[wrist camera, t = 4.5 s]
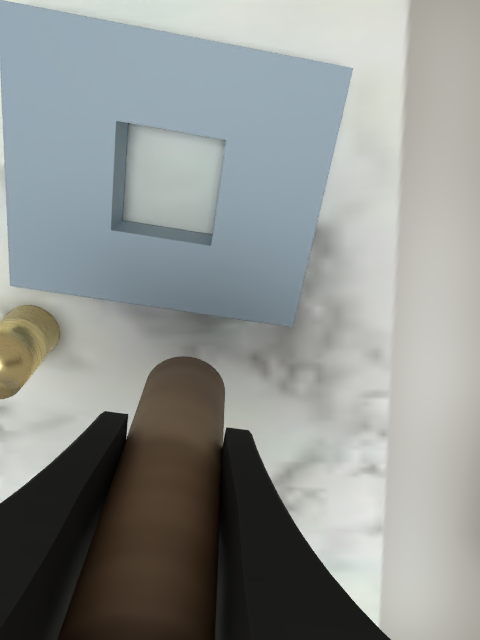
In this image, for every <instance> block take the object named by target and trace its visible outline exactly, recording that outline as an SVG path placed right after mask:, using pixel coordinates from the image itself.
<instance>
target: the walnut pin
mask: <svg viewBox="0 0 480 640" xmlns="http://www.w3.org/2000/svg"><path fill="white" fill-rule="evenodd" d="M224 402H225V387H224V383H223V380H222V378H221V376H220V375H219V373H218V372H217V371H216V370H215V369H214V368H213V367H212V366H211V365H209V364H208V363H206V362H204V361H202V360H200V359H197V358H193V357H174V358H170V359H167V360H165V361H163V362H161V363H160V364H158V365H157V366H156V367H155V368H154V369H153V370H152V371H151V373H150V374H149V376H148V378H147V381H146V384H145V387H144V390H143V393H142V396H141V399H140V401H139V404H138V407H137V410H136V413H135V416H134V419H133V422H132V425H131V427H130V430H129V433H128V436H127V439H126V442H125V445H124V448H123V451H122V454H121V456H120V459H119V462H118V465H117V468H116V471H115V474H114V477H113V480H112V483H111V485H110V488H109V491H108V494H107V497H106V500H105V503H104V506H103V509H102V511H101V514H100V517H99V520H98V523H97V526H96V529H95V532H94V535H93V538H92V540H91V543H90V546H89V549H88V552H87V555H86V558H85V561H84V564H83V567H82V569H81V572H80V575H79V578H78V581H77V584H76V587H75V590H74V593H73V595H72V598H71V601H70V604H69V607H68V610H67V613H66V616H65V619H64V622H63V624H62V627H61V630H60V633H59V636H58V639H57V640H215V628H216V603H217V578H218V553H219V528H220V503H221V465H222V447H223V427H224Z"/></svg>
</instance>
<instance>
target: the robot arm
mask: <svg viewBox="0 0 480 640" xmlns="http://www.w3.org/2000/svg"><path fill="white" fill-rule="evenodd" d="M127 422H128V414H122V413H114V412H107V411H105V412H103V413H102V414H100V415H99V416H98V417H97V418H96V420H95V421H94V422H93V423H92V424H91V425H90V426H89V427H88V428H87V429H86V430H85V431H84V432H83V433H82V434H81V435H80V436H79V437H78V438H77V439H76V440H75V441H74V442H73V443H72V444H71V445H70V446H69V447H68V448H67V449H66V450H65V451H63V452H62V453H61V454H60V455H59V456H58V457H57V458H56V459H55V460H54V461H53V462H51V463H50V464H49V465H48V466H47V467H46V468H44V469H43V470H42V471H41V472H40V473H38V474H37V475H36V476H35V477H34V478H32V479H31V480H30V481H29V482H28V483H26V484H25V485H24V486H23V487H21V488H20V489H19V490H18V491H16V492H15V493H14V494H12V495H11V496H10V497H8V498H7V499H6V500H4V501H3V502H2V503H0V640H57V639H58V636H59V633H60V630H61V627H62V624H63V622H64V619H65V616H66V613H67V610H68V607H69V604H70V601H71V598H72V595H73V593H74V590H75V587H76V584H77V581H78V578H79V575H80V572H81V569H82V567H83V564H84V561H85V558H86V555H87V552H88V549H89V546H90V543H91V540H92V538H93V535H94V532H95V529H96V526H97V523H98V520H99V517H100V514H101V511H102V509H103V506H104V503H105V500H106V497H107V494H108V491H109V488H110V485H111V483H112V480H113V477H114V474H115V471H116V468H117V465H118V462H119V459H120V456H121V454H122V451H123V448H124V445H125V442H126V434H127ZM215 640H391V639H390V638H388V637H387V636H386V635H385V634H384V633H383V632H382V631H381V630H380V629H379V628H378V627H377V626H376V625H375V624H374V623H373V621H372V620H371V619H370V618H369V617H368V616H367V615H366V614H365V613H364V612H363V611H362V610H361V609H360V608H359V607H358V606H357V605H356V603H355V602H354V601H353V600H352V599H351V597H350V596H349V595H348V594H347V593H346V592H345V590H344V589H343V588H342V587H341V586H340V584H339V583H338V582H337V581H336V580H335V579H334V577H333V576H332V575H331V574H330V573H329V571H328V570H327V569H326V567H325V566H324V565H323V563H322V562H321V561H320V559H319V558H318V557H317V555H316V554H315V553H314V551H313V550H312V548H311V547H310V545H309V544H308V543H307V541H306V540H305V538H304V537H303V535H302V534H301V532H300V531H299V529H298V527H297V526H296V524H295V523H294V521H293V519H292V518H291V516H290V514H289V513H288V511H287V509H286V508H285V506H284V504H283V502H282V500H281V499H280V497H279V495H278V493H277V491H276V489H275V487H274V485H273V483H272V481H271V479H270V477H269V475H268V473H267V471H266V469H265V467H264V464H263V462H262V460H261V457H260V455H259V453H258V450H257V448H256V445H255V442H254V439H253V436H252V434H251V433H250V431H249V430H242V429H234V428H227V427H226V432H225V437H224V442H223V447H222V465H221V503H220V528H219V553H218V578H217V603H216V628H215Z"/></svg>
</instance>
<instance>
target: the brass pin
mask: <svg viewBox="0 0 480 640" xmlns="http://www.w3.org/2000/svg"><path fill="white" fill-rule="evenodd" d="M59 336H60V331H59V327H58V324H57V322H56V320H55V319H54V318H53V317H52V315H50V314H49V313H48V312H47V311H45V310H44V309H42V308H39V307H37V306H32V305H23V306H19V307H16V308H14V309H13V310H11V311H10V312H9V313H8V314H7V315H5V316H4V317H3V318H2V319H1V320H0V399H5V398H9V397H11V396H13V395H14V394H16V393H17V392H18V391H19V390H20V389H21V387H22V386H23V385H24V384H25V383H26V381H27V380H28V379H29V378H30V376H31V375H32V374H33V373H34V372H35V370H36V369H37V368H38V367H39V365H40V364H41V363H42V362H43V361H44V359H45V358H46V357H47V356H48V354H49V353H50V352H51V351H52V350H53V348H54V347H55V346H56V344H57V343H58V341H59Z"/></svg>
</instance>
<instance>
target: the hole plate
mask: <svg viewBox="0 0 480 640" xmlns="http://www.w3.org/2000/svg"><path fill="white" fill-rule="evenodd" d="M0 71H1V93H2V115H3V138H4V160H5V182H6V204H7V226H8V248H9V271H10V286H13V287H20V288H27V289H34V290H41V291H48V292H55V293H61V294H68V295H75V296H82V297H89V298H96V299H102V300H109V301H116V302H123V303H130V304H137V305H144V306H150V307H157V308H164V309H171V310H178V311H185V312H191V313H198V314H205V315H212V316H219V317H226V318H233V319H239V320H246V321H253V322H260V323H267V324H274V325H280V326H287V327H293V324H294V320H295V315H296V311H297V307H298V302H299V298H300V294H301V290H302V285H303V281H304V277H305V272H306V268H307V264H308V259H309V255H310V251H311V247H312V242H313V238H314V234H315V229H316V225H317V221H318V217H319V212H320V208H321V204H322V199H323V195H324V191H325V187H326V182H327V178H328V174H329V169H330V165H331V161H332V156H333V152H334V148H335V144H336V139H337V135H338V131H339V126H340V122H341V118H342V114H343V109H344V105H345V101H346V96H347V92H348V88H349V84H350V79H351V75H352V71H353V68H349V67H344V66H339V65H334V64H329V63H323V62H318V61H313V60H308V59H303V58H298V57H292V56H287V55H282V54H277V53H272V52H267V51H261V50H256V49H251V48H246V47H241V46H236V45H230V44H225V43H220V42H215V41H210V40H205V39H199V38H194V37H189V36H184V35H179V34H174V33H168V32H163V31H158V30H153V29H148V28H143V27H138V26H132V25H127V24H122V23H117V22H112V21H107V20H101V19H96V18H91V17H86V16H81V15H76V14H70V13H65V12H60V11H55V10H50V9H45V8H39V7H34V6H29V5H24V4H19V3H14V2H8V1H3V0H0ZM128 123H132V124H137V125H143V126H149V127H154V128H160V129H166V130H171V131H177V132H183V133H188V134H194V135H199V136H205V137H211V138H216V139H222V140H226V144H225V151H224V158H223V165H222V172H221V179H220V187H219V194H218V201H217V208H216V215H215V222H214V229H213V235H210V234H204V233H198V232H192V231H185V230H179V229H173V228H167V227H160V226H154V225H148V224H142V223H135V222H129V221H123V204H124V186H125V169H126V152H127V135H128Z"/></svg>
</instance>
